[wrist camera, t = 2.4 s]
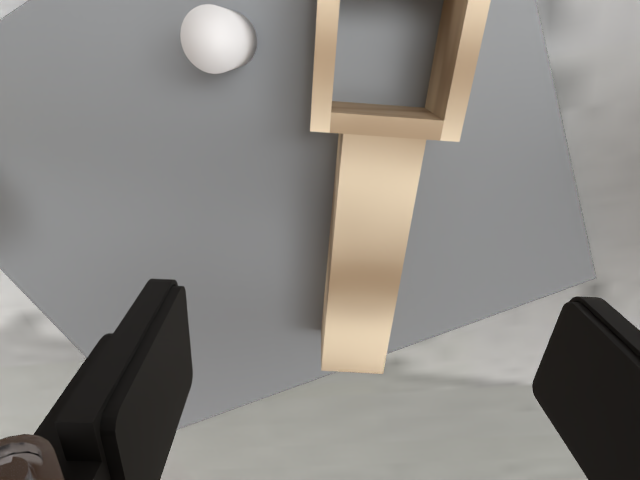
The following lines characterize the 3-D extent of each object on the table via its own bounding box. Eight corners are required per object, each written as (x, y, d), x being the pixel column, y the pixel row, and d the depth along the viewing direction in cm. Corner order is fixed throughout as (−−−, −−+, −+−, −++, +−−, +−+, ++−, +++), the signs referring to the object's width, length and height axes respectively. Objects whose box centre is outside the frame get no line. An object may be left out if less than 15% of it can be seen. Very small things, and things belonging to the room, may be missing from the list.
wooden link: (320, -36, 15) (320, -53, 12) (467, -24, 15) (499, -38, 12) (299, 329, 22) (296, 369, 19) (397, 334, 22) (407, 375, 20)
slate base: (584, 268, 22) (676, 347, 16) (167, 421, 27) (127, 521, 21) (461, -274, 13) (569, -515, 7) (-124, 114, 18) (-321, 147, 13)
